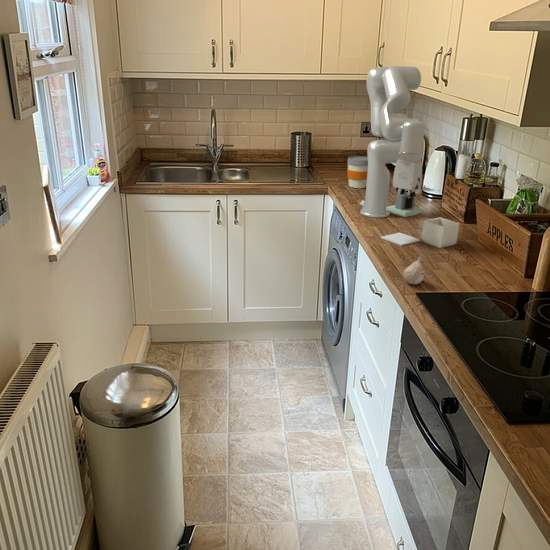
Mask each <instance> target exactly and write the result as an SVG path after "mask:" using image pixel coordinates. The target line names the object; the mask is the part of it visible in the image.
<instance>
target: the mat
mask: <svg viewBox="0 0 550 550" xmlns="http://www.w3.org/2000/svg"><path fill="white" fill-rule="evenodd" d="M380 239H383V240H384V241H387V242H390V243H393V244H395V245H397V246H406V245H409V244H414V243H418V242H421V239H419V238H417V237H413V236H411V235H409V234H405V233H402V232H396V233H391V234H387V235H384V236H383V235H382V236H380Z"/></svg>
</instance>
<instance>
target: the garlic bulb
mask: <svg viewBox="0 0 550 550" xmlns="http://www.w3.org/2000/svg"><path fill="white" fill-rule="evenodd" d="M422 261H423V257H421V256H420V255H419V256H418V258H417V260H415V261H413V263H412V262H411V264H410V265H409V266H407V267H406V268H404V270H403V275H402V276H403V278H404V280H405V281H406V283H408V284H409V285H418V284H420V283H422V281H423V280H424V276H425V272H424V267H423V265H422V263H421V262H422Z"/></svg>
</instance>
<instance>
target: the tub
mask: <svg viewBox="0 0 550 550" xmlns="http://www.w3.org/2000/svg"><path fill="white" fill-rule="evenodd" d="M459 228H460V222H457V221H454V220H450V219H446V218H443V217H435V218H431V219H426V220H424V221H423V226H422V233H421V239H420V242H422V243H425V244H428V245H430V246H434V247H436V248H439V249H442V248H446V247H451V246H454V245H457V242H458V236H459V235H458V234H459Z"/></svg>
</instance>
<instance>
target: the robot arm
mask: <svg viewBox="0 0 550 550" xmlns="http://www.w3.org/2000/svg"><path fill="white" fill-rule="evenodd" d="M421 82H422V74H421V71H420V69H419V68H417V67H416V66H399V65H397V66H396V65H395V66H379V67H378V66H377V67H373V68H371V69H370V70H369V71H368V72H367V76H366V91H367V94H368V97H369V102H370V131H371V134H372V135H373V136H375V137H379V138H384V139H376V140H375V139H374V140H372V141H371V142H369V144H368V145H367V153H366V154H367V157H368V173H367V185H366V189H365V197H364V198H365V199H364V200H361V201H360V202H359V206H361V207H362V208H361V209H360V211H359V212H360V214H361V215H363V216H365V217H370V218H386V217H389V216H390V214H391V211H388V210H386V207H387V206H388V201H389V200H388V199H389V197H388V196H389V190H390V189H389V188H390V182H391V181H390V180H391V179H390V178H391V173H390V170H389V169H388V167H387V166H386V165H387V164H395V167H394V170H393V178H392V187H393V188H394V189H395V191H396V193H397V194H396V196H397V195H398V194H404V193H407V198H406V203H405V209H409V208H412V203H413V198H414V197H415V198H416V196H417V195H419V194H422V188H421V187H422V180H423V163H422V154H423V153H422V152H423V144H424V135H425V123H424V121H420V120H419V119H417V118H409V117H408V116H407V114H404V113H398V112H397V111H400V110H402V109H403V108H405V107H406V106H408V104H410V101H411V93H410V91H415V90H418V89H419V88H420V86H421ZM396 112H397V113H396ZM415 189H416V191H415ZM405 190H408V192H405Z"/></svg>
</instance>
